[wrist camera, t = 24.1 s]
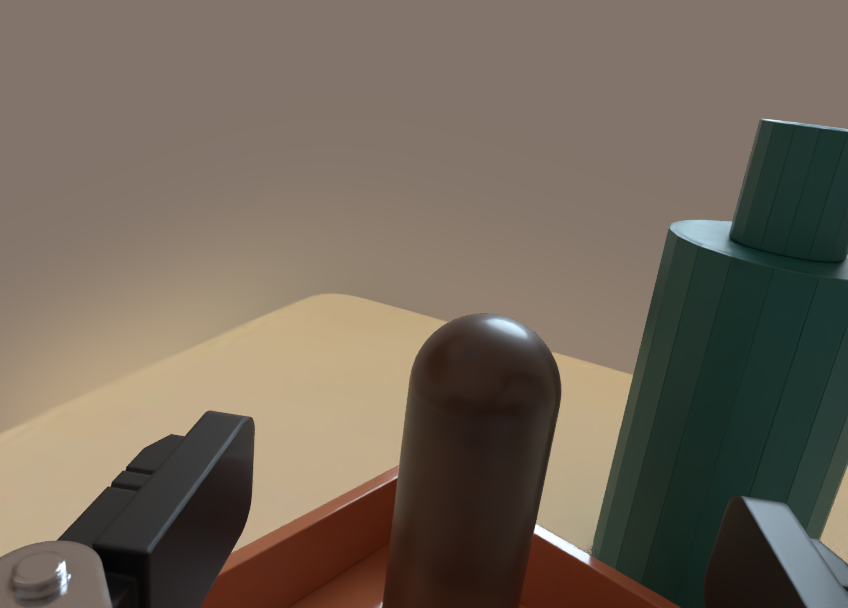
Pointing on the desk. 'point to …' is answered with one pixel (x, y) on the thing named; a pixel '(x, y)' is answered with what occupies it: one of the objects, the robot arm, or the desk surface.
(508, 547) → the stopper
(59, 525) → the desk surface
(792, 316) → the flask
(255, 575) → the dish
